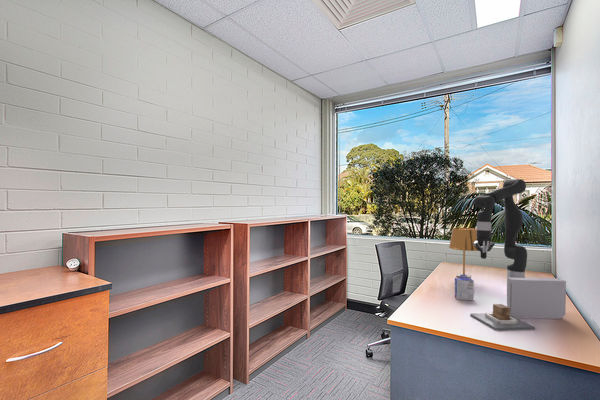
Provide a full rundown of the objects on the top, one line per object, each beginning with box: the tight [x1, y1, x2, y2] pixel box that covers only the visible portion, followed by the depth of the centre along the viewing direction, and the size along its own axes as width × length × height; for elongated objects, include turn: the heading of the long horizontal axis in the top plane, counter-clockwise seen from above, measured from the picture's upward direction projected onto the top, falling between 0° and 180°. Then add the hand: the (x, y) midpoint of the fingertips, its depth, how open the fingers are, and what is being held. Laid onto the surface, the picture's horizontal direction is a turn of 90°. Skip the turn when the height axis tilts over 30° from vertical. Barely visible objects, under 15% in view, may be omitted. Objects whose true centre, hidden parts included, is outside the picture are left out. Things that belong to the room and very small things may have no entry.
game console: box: [506, 276, 567, 320], centre depth 159 cm, size 6×27×20 cm, turn 88°
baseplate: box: [469, 312, 536, 331], centre depth 150 cm, size 20×18×3 cm
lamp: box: [448, 227, 478, 279], centre depth 224 cm, size 21×21×41 cm
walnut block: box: [492, 303, 510, 320], centre depth 150 cm, size 5×5×7 cm
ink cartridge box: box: [454, 275, 475, 301], centre depth 187 cm, size 10×6×14 cm, turn 78°
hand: (483, 258), depth 177 cm, fingers closed
